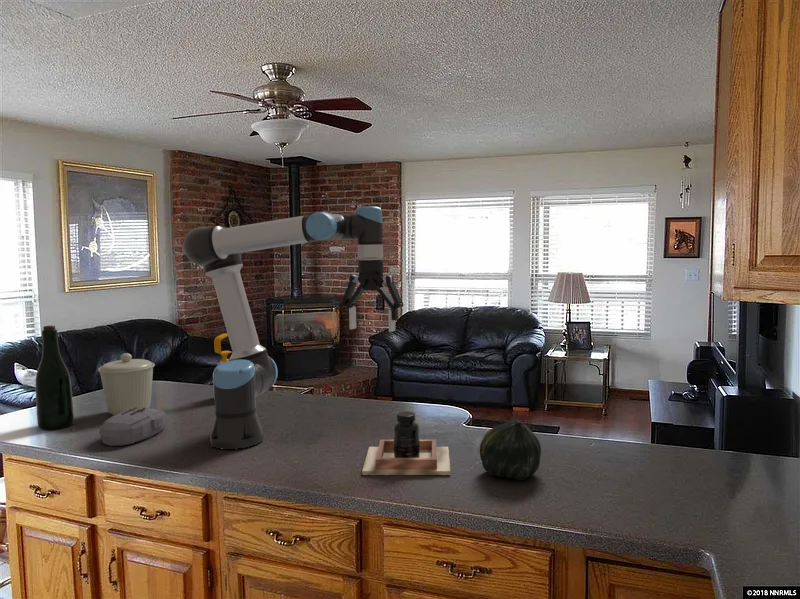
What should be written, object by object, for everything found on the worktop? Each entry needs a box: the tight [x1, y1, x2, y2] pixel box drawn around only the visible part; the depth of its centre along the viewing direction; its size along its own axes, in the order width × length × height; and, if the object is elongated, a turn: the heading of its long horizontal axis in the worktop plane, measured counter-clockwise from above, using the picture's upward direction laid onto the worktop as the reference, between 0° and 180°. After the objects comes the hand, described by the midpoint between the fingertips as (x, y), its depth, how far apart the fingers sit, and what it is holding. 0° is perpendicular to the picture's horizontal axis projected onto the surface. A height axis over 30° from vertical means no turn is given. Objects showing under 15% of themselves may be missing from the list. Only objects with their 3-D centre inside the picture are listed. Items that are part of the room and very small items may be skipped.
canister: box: [97, 352, 156, 416], centre depth 213 cm, size 18×18×21 cm
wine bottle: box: [35, 325, 75, 431], centre depth 198 cm, size 10×10×33 cm
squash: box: [479, 420, 542, 481], centre depth 151 cm, size 14×15×15 cm
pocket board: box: [361, 439, 451, 476], centre depth 161 cm, size 22×18×4 cm
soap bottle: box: [212, 332, 233, 391], centre depth 230 cm, size 9×9×25 cm
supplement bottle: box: [392, 410, 420, 458], centre depth 161 cm, size 7×7×12 cm
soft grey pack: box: [98, 407, 168, 447], centre depth 187 cm, size 15×8×20 cm
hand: (372, 330), depth 184 cm, fingers open, 13 cm apart
